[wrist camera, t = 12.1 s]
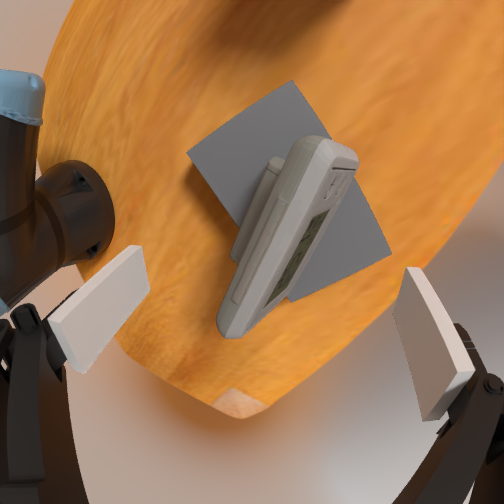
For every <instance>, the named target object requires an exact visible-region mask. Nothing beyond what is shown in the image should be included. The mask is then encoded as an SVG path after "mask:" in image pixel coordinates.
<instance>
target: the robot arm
mask: <svg viewBox="0 0 504 504" xmlns="http://www.w3.org/2000/svg"><path fill="white" fill-rule="evenodd" d="M44 97H45V83H44V81H43V79H42V78H41V77H40V76H39V75H37V74H33V73H28V72H21V71H12V70H3V69H0V316H2V315H3V314H4V313H6V312H7V313H8V312H9V311H10V310H11V309H12V308H13V307H14V306H15V305H16V304H17V303H19V302H20V301H21V300H22V299H23V298H24V297H25V296H27V295H28V294H29V293H30V292H31V291H32V290H34V289H35V288H36V287H37V286H38V285H39V284H41V283H42V282H43V281H44V280H46V279H47V278H48V277H49V276H51V275H52V274H53V273H54V272H56V271H57V270H58V269H60V268H61V267H65V266H69V265H73V264H78V263H82V262H86V261H89V260H91V259H93V258H95V257H96V256H98V255H99V254H100V253H102V252H103V251H104V250H105V249H106V248H107V247H108V245H109V243H110V242H111V239H112V236H113V232H114V225H115V217H114V208H113V204H112V200H111V197H110V194H109V191H108V189H107V187H106V185H105V183H104V182H103V180H102V179H101V177H100V176H99V175H98V173H97V172H96V171H95V170H94V169H93V168H91V167H90V166H89V165H87V164H86V163H83V162H81V161H77V160H69V161H65V162H62V163H59V164H56V165H54V166H53V167H51V168H50V169H49V170H47V171H46V172H45V173H44V174H43V175H42V176H41V177H39V178H38V179H37V180H36V181H35V174H36V158H37V147H38V138H39V130H40V126H41V125H42V124H43V119H42V111H43V104H44ZM149 292H150V287H149V282H148V277H147V272H146V267H145V262H144V256H143V250H142V246H136V245H129V246H128V247H127V248H126V249H124V250H123V251H122V252H121V253H120V254H118V255H117V256H116V257H115V258H114V259H112V260H111V261H110V262H109V263H108V264H107V265H105V266H104V267H103V268H102V269H101V270H100V271H98V272H97V273H96V274H95V275H94V276H93V277H92V278H90V279H89V280H88V281H87V282H86V283H85V284H84V285H83V286H82V287H80V288H79V289H77V290H75V291H73V292H72V293H71V294H70V295H68V296H67V297H66V299H65V300H63V301H62V302H61V303H60V305H58V306H57V307H56V308H54V309H53V311H51V312H50V313H49V314H48V315H47V316H46V317H45V318H44V319H43V320H42V321H41V319H40V317H39V315H38V312H37V310H36V308H35V306H34V305H33V304H30V303H27V304H23V305H20V306H18V307H17V308H15V309H14V310H13V311H12V312H11V314H10V317H11V319H12V321H13V324H14V325H15V327H16V329H14V328H12V326H11V324H10V322H9V321H8V320H7V319H0V504H89V502H88V499H87V495H86V492H85V488H84V484H83V481H82V477H81V473H80V468H79V464H78V459H77V455H76V450H75V444H74V439H73V433H72V427H71V419H70V412H69V403H68V393H67V380H66V369H65V366H64V365H63V364H64V362H65V361H66V360H68V362H69V364H70V366H71V368H72V369H73V370H76V371H78V372H80V373H83V374H85V373H86V372H87V371H88V369H89V368H90V367H91V365H92V364H93V363H94V361H95V360H96V358H97V357H98V356H99V355H100V353H101V352H102V351H103V349H104V348H105V347H106V345H107V344H108V343H109V342H110V340H111V339H112V338H113V336H114V335H115V334H116V333H117V331H118V330H119V329H120V328H121V326H122V325H123V324H124V322H125V321H126V320H127V319H128V317H129V316H130V315H131V314H132V312H133V311H134V310H135V309H136V308H137V306H138V305H139V304H140V303H141V301H142V300H143V299H144V298H145V297H146V295H147V294H148V293H149ZM393 316H394V319H395V322H396V325H397V328H398V331H399V334H400V337H401V341H402V344H403V347H404V350H405V353H406V357H407V361H408V364H409V368H410V371H411V375H412V379H413V382H414V386H415V390H416V394H417V398H418V403H419V407H420V411H421V416H422V421H423V422H424V421H432V420H439V419H440V418H441V417H442V416H443V415H444V413H445V412H446V411H448V415H449V419H448V420H447V421H446V423H445V424H444V425H443V426H442V428H440V430H439V431H438V432H437V434H439V433H440V434H439V435H438V437H437V439H436V441H435V442H434V444H433V446H432V447H431V449H430V451H429V453H428V454H427V456H426V457H425V459H424V460H423V462H422V463H421V465H420V466H419V468H418V470H417V471H416V472H415V474H414V475H413V477H412V478H411V480H410V481H409V482H408V484H407V485H406V486H405V488H404V489H403V490H402V492H401V493H400V494H399V496H398V497H397V498H396V499H395V501H394V502H393V503H392V504H463V502H464V500H465V499H466V497H467V495H468V493H469V491H470V489H471V487H472V485H473V483H474V481H475V483H474V486H473V490H472V494H471V498H470V501H469V504H504V383H503V381H502V380H501V379H500V378H498V377H497V376H496V375H494V374H491V373H487V371H486V368H485V366H484V364H483V362H482V360H481V358H480V356H479V354H478V352H477V350H476V349H475V346H474V344H473V342H471V339H470V337H469V335H468V333H467V331H466V330H465V329H464V328H463V327H462V326H461V325H460V324H458V323H457V324H456V323H455V324H453V323H452V321H451V319H450V318H449V316H448V314H447V312H446V311H445V309H444V307H443V305H442V303H441V301H440V300H439V298H438V296H437V295H436V293H435V291H434V290H433V288H432V286H431V285H430V283H429V282H428V280H427V278H426V277H425V275H424V273H423V272H422V270H421V269H420V268H417V267H406V269H405V273H404V277H403V281H402V284H401V288H400V291H399V295H398V298H397V301H396V305H395V308H394V311H393ZM2 359H3V360H4V362H5V364H6V365H7V369H6V370H4V368H3V367H2V365H1V361H2Z"/></svg>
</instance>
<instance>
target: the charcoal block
mask: <svg viewBox="0 0 504 504" xmlns="http://www.w3.org/2000/svg"><path fill="white" fill-rule="evenodd" d="M311 135H316V136H322V137H326V138H328V139H331V140H332V138H331V137H330V135H329V134H328V132H327V130H326V129H325V127H324V126H323V124H322V123H321V121H320V120H319V118H318V117H317V115H316V114H315V112H314V111H313V109H312V108H311V106H310V105H309V103H308V102H307V100H306V99H305V97H304V96H303V95H302V93H301V92H300V90H299V89H298V88H297V86H296V85H295V83H294V82H293V81H292V80H291V81H289V82H287V83H286V84H284V85H282V86H281V87H279V88H278V89H276V90H274V91H273V92H271V93H270V94H268V95H266V96H265V97H263V98H262V99H260V100H259V101H257V102H256V103H254V104H252V105H251V106H249V107H248V108H246V109H245V110H244V111H242V112H241V113H239V114H238V115H236V116H235V117H233V118H232V119H230V120H229V121H228V122H226V123H225V124H223V125H222V126H221V127H219V128H218V129H217V130H215V131H214V132H212V133H211V134H210V135H208V136H207V137H206V138H204V139H203V140H202V141H200V142H199V143H198V144H197V145H195V146H194V147H193V148H191V149H190V150H189V151H188V152H186V153H187V155H188V156H189V157H190V159H191V160H192V162H193V163H194V165H195V166H196V167H197V169H198V170H199V172H200V173H201V175H202V176H203V177H204V179H205V180H206V182H207V183H208V184H209V186H210V187H211V189H212V190H213V192H214V193H215V194H216V196H217V197H218V199H219V200H220V202H221V203H222V204H223V206H224V207H225V209H226V210H227V212H228V213H229V214H230V216H231V217H232V219H233V220H234V222H235V223H236V224H237V226H238V227H239V229H240V228H241V225H242V223H243V220H244V218H245V216H246V213H247V211H248V209H249V206H250V204H251V202H252V199H253V197H254V195H255V192H256V190H257V188H258V185H259V183H260V181H261V178H262V176H263V174H264V171H265V169H266V167H267V164H268V162H269V161H270V160H271V159H272V158H273V157H274V156H277V157H279V158H282V159H284V160H286V158H287V156H288V154H289V152H290V150H291V148H292V146H293V144H294V143H295V142H296V141H297V140H298V139H300V138H303V137H306V136H311ZM391 254H392V252H391V250H390V248H389V246H388V243H387V241H386V239H385V237H384V235H383V233H382V230H381V228H380V226H379V224H378V222H377V220H376V218H375V216H374V214H373V212H372V210H371V208H370V206H369V204H368V202H367V200H366V198H365V196H364V194H363V193H362V191H361V189H360V187H359V185H358V183H357V181H356V180H355V178H354V177H353V179H352V181H351V183H350V185H349V187H348V189H347V191H346V193H345V195H344V197H343V199H342V201H341V203H340V204H339V206H338V208H337V210H336V212H335V214H334V216H333V217H332V219H331V221H330V223H329V225H328V227H327V229H326V230H325V232H324V234H323V236H322V238H321V239H320V241H319V243H318V245H317V247H316V248H315V250H314V252H313V254H312V255H311V257H310V259H309V261H308V262H307V264H306V266H305V268H304V269H303V271H302V273H301V275H300V276H299V278H298V280H297V281H296V283H295V285H294V286H293V288H292V290H291V291H290V292H289V294H288V295H287V298H288V299H289V300H290V302H294V301H296V300H298V299H300V298H303V297H305V296H307V295H309V294H311V293H314V292H316V291H318V290H320V289H322V288H324V287H326V286H329V285H331V284H333V283H335V282H337V281H339V280H341V279H343V278H345V277H347V276H349V275H351V274H353V273H356V272H358V271H360V270H362V269H364V268H366V267H368V266H370V265H372V264H374V263H375V262H377V261H379V260H381V259H383V258H385V257H387V256H389V255H391Z"/></svg>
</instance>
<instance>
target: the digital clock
mask: <svg viewBox="0 0 504 504" xmlns="http://www.w3.org/2000/svg"><path fill="white" fill-rule="evenodd" d="M359 164H360V162H359V160H358V157H357V155H356V153H355V151H354V150H353V149H350V148H348V147H346V146H344V145H342V144H340V143H337V142H335V141H333V140H331V139H328V138H326V137H322V136H316V135H311V136H306V137H303V138H300V139H298V140H297V141H296V142H295V143H294V144H293V146H292V148H291V150H290V152H289V154H288V156H287V158H286V160H284V159H282V158H279V157H277V156H274V157H273V158H272V159H271V160H270V161H269V162H268V164H267V167H266V169H265V171H264V174H263V176H262V178H261V181H260V183H259V185H258V188H257V190H256V192H255V195H254V197H253V199H252V202H251V204H250V206H249V209H248V211H247V213H246V216H245V218H244V220H243V223H242V225H241V228H240V230H239V232H238V235H237V237H236V239H235V242H234V244H233V247H232V249H231V251H230V258H231V259H232V260H233V261H234V262H236V263H237V265H238V267H237V270H236V272H235V274H234V276H233V279H232V281H231V283H230V285H229V288H228V290H227V292H226V294H225V297H224V299H223V301H222V304H221V306H220V308H219V311H218V313H217V316H216V323H217V327H218V330H219V332H220V334H221V335H222V336H223V337H224V338H225V339H237V338H242V337H243V336H244V335H245V334H247V333H248V332H249V331H250V330H251V329H252V328H253V327H254V326H255V325H256V324H257V323H259V322H260V321H261V320H262V319H263V318H264V317H265V316H266V315H267V314H268V313H269V312H270V311H271V310H272V309H273V308H275V307H276V306H277V305H278V304H279V303H280V302H281V301H282V300H283V299H284V298H285V297H286V296H287V295H288V294H289V292H290V291H291V290H292V288H293V286H294V285H295V283H296V281H297V280H298V278H299V276H300V275H301V273H302V271H303V269H304V268H305V266H306V264H307V262H308V261H309V259H310V257H311V255H312V254H313V252H314V250H315V248H316V247H317V245H318V243H319V241H320V239H321V238H322V236H323V234H324V232H325V230H326V229H327V227H328V225H329V223H330V221H331V219H332V217H333V216H334V214H335V212H336V210H337V208H338V206H339V204H340V203H341V201H342V199H343V197H344V195H345V193H346V191H347V189H348V187H349V185H350V183H351V181H352V179H353V177H354V175H355V173H356V171H357V169H358V167H359Z"/></svg>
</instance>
